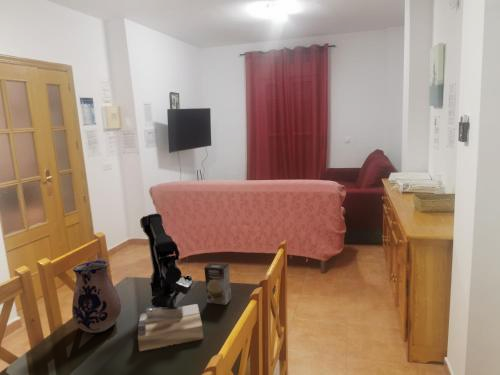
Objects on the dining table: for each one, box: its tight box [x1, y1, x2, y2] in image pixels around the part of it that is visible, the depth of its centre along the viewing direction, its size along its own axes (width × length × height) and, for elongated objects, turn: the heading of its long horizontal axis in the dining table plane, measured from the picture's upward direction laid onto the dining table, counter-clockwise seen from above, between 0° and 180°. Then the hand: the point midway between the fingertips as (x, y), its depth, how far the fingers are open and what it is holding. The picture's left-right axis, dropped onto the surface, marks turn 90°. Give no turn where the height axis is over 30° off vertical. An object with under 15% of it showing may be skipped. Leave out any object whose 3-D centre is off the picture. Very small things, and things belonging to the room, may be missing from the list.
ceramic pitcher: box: [71, 258, 122, 334], centre depth 150 cm, size 18×21×25 cm
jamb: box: [139, 303, 200, 323], centre depth 147 cm, size 8×22×5 cm, turn 103°
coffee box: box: [203, 261, 232, 306], centre depth 164 cm, size 9×6×16 cm
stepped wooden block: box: [137, 313, 204, 352], centre depth 138 cm, size 10×22×8 cm, turn 103°
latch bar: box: [144, 305, 184, 319], centre depth 143 cm, size 14×3×3 cm, turn 87°
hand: (172, 310), depth 146 cm, fingers closed
